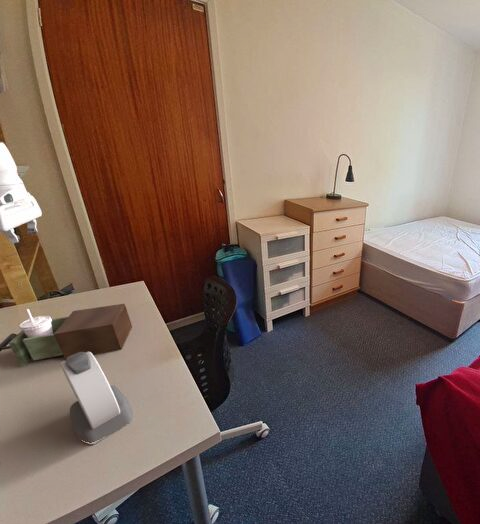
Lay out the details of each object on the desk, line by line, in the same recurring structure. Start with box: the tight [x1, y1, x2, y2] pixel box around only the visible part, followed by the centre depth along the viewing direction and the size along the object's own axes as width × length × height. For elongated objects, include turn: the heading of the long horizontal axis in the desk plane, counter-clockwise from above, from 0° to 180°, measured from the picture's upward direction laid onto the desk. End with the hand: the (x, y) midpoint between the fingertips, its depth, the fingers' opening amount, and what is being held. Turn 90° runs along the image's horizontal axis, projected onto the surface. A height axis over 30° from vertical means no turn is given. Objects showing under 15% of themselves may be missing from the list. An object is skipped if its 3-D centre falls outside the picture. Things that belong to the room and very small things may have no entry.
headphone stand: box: [60, 352, 133, 443], centre depth 63 cm, size 16×10×18 cm, turn 53°
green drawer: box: [0, 316, 69, 366], centre depth 84 cm, size 17×11×8 cm, turn 113°
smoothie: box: [18, 308, 53, 338], centre depth 82 cm, size 6×6×14 cm
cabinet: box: [54, 303, 133, 360], centre depth 89 cm, size 14×13×10 cm
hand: (25, 237), depth 89 cm, fingers open, 8 cm apart
